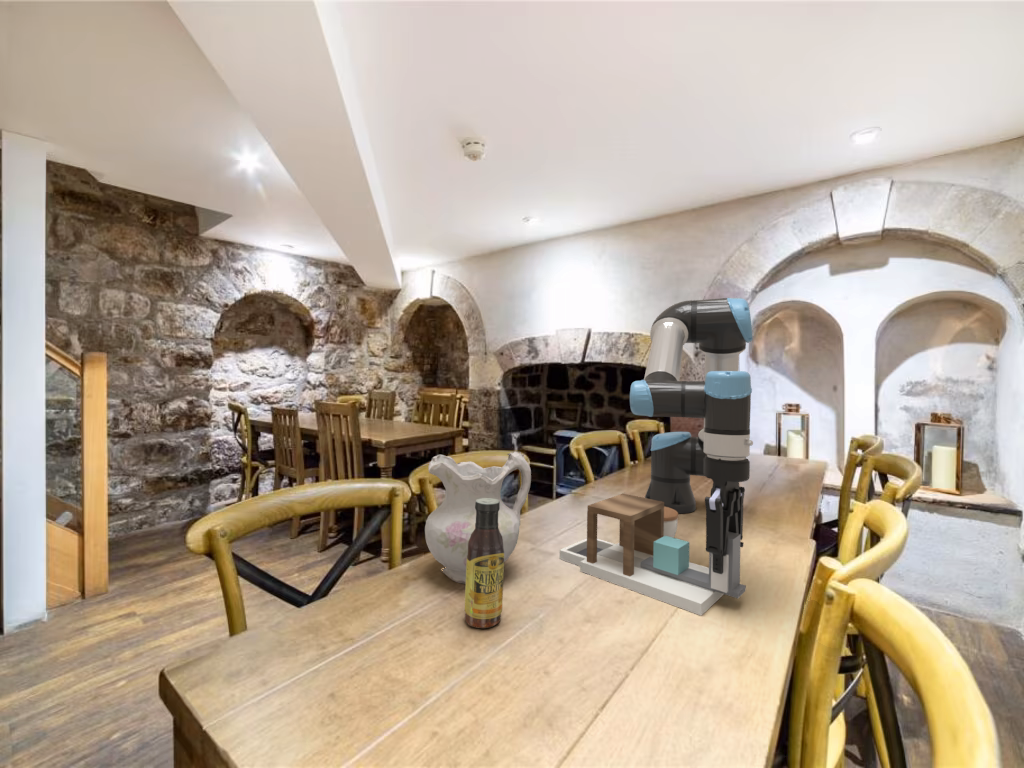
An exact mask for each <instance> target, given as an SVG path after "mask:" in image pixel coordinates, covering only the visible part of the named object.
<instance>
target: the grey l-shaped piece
mask: <svg viewBox="0 0 1024 768" xmlns="http://www.w3.org/2000/svg"><path fill="white" fill-rule="evenodd" d="M741 541H742V540H741V534H737V533H733V532H729V531H728V541H727V554H728V555H729V573H728V592H727V593H725V592H722V591H719V590H716V589H713V588H711V553H710V552H708V553H709V555H708V568H709V574H706V573H703V572H700V571H696V570H693V569H690V568H687V569H686V570H685V571H683V572H682V573H680V574H679V575H676V574H673V573H670V572H667V571H664V570H660V569H657V568H654V567H653V557H648V558H647V559H645V560H643V561H641V563H640V567H642V568H645V569H648V570H651V571H654V572H657V573H660V574H664V575H667V576H670V577H673V578H676V579H679V580H682V581H685V582H688V583H691V584H694V585H698V586H701V587H704V588H707V589H710V590H713V591H716V592H719V593H722V594H724V595H725V596H729V597H732V598H734V599H739V598H741V596H742V595H744V593H745V592H746V591H747V588H746V587H747V585H746V584H742V583H741V547H740V542H741Z"/></svg>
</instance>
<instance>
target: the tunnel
mask: <svg viewBox="0 0 1024 768" xmlns="http://www.w3.org/2000/svg"><path fill="white" fill-rule="evenodd" d="M586 512H587V513H586V538H587V562H589V563H592V564H593V563H595V562H597V539H598V515H600V516H604V517H608V518H612V519H616V520H619V537H618V538H619V540H618V541H619V542H618V543H619V546H623V574H624V575H627V576H629V577H630V576H632V575H633V574H634V550H636V551H639V552H643V553H646V554H649V555H653V547H654V541H656V540H658V539H660V538H662V537H664V502H662V501H657V500H652V499H647V498H645V497H641V496H639V495H638V496H636V495H631V494H627V493H621V494H617V495H614V496H612V497H608V498H606V499H603V500H600V501H597V502H593V503H591V504H589V505H587V511H586Z"/></svg>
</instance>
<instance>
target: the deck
mask: <svg viewBox="0 0 1024 768" xmlns="http://www.w3.org/2000/svg"><path fill="white" fill-rule="evenodd" d="M648 557H653V555H649V554H646V553H643V552H639V551H636V550H634V574H633V575H632V576H630V577H629V576H627V575H624V574H623V546H619V542H618V543H614V542H609V541H606V540H603V539H600V538H597V562H595V563H593V564H592V563H589V562H587V537H586V538H584V539H581V540H579V541H577V542H575V543H572V544H570V545H567V546H565V547H563V548H561V549H559V560H562V561H565V562H568V563H570V564H573V565H575V566H579V568H580V569H579V572H582V573H585V574H587V575H591V576H593V577H595V578H597V579H601V580H603V581H607V582H608V583H611V584H614V585H617V586H620V587H622V588H625V589H628V590H631V591H633V592H636V593H639V594H642V595H643V596H646V597H649V598H653V599H655V600H657V601H661V602H664V603H665V604H668V605H672V606H674V607H677V608H679V609H682V610H684V611H688V612H689V613H693V614H696V615H698V616H703V615H704V614H705V613H706V612H707V610H709V609H710V608H711V607H712V606H713V605H714V604H715V603H716V602H717V601H718V600H719V599H721V598H722V597H723V596H724V595H725V594H722V593H719V592H716V591H713V590H710V589H707V588H704V587H701V586H698V585H694V584H691V583H688V582H685V581H682V580H679V579H676V578H673V577H670V576H667V575H664V574H660V573H657V572H654V571H651V570H648V569H645V568H642V567H640V563H641V561H643V560H645V559H647V558H648ZM689 568H690V569H693V570H696V571H700V572H703V573H706V574H709V566H708V567H707V566H705V565H701V564H697V563H694V562H691V561H689Z"/></svg>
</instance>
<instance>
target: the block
mask: <svg viewBox="0 0 1024 768" xmlns="http://www.w3.org/2000/svg"><path fill="white" fill-rule="evenodd" d="M689 562H690V541H689V540H684V539H683V540H682V539H679V538H677V537H673V538H672V537H669V536H664V537H662V538H660V539H658V540H656V541H654V547H653V567H654V568H657V569H660V570H664V571H667V572H670V573H673V574H676V575H679V574H680V573H682V572H683V571H685V570H686V569H687V568H689Z"/></svg>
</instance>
